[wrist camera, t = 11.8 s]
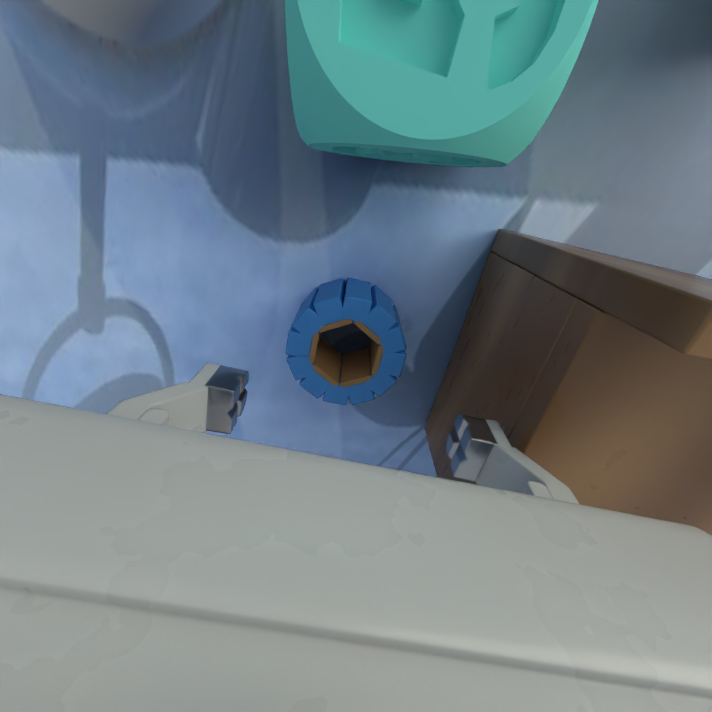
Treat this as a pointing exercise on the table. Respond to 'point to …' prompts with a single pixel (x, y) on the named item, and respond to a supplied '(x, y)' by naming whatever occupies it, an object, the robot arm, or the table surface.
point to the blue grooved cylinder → (355, 369)
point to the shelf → (590, 375)
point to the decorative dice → (430, 75)
